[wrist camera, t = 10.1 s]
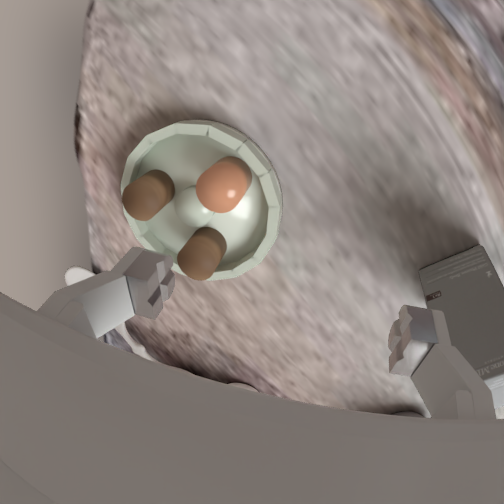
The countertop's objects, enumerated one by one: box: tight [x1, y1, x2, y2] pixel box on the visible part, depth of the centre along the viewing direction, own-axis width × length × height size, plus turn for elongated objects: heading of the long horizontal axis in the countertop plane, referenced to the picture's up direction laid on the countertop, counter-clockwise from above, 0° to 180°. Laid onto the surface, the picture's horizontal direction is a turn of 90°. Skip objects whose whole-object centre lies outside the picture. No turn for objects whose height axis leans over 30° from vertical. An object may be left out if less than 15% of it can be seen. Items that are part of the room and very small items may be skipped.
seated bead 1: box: [122, 169, 175, 221], centre depth 31 cm, size 4×4×4 cm
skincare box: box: [419, 244, 504, 409], centre depth 24 cm, size 8×7×16 cm
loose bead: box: [196, 156, 252, 213], centre depth 28 cm, size 4×4×4 cm
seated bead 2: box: [177, 227, 227, 280], centre depth 33 cm, size 4×4×4 cm
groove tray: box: [120, 119, 283, 281], centre depth 32 cm, size 17×17×2 cm
